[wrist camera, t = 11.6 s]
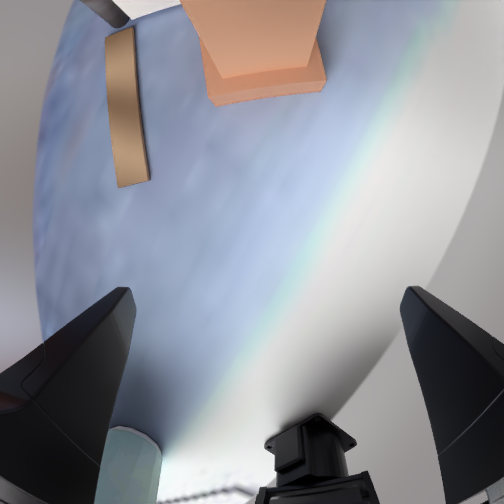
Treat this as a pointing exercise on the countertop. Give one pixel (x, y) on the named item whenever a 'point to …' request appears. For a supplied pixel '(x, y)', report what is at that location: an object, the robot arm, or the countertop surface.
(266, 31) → the tan square pedestal
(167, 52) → the countertop surface
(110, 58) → the door frame
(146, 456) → the disposable coffee cup
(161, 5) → the door
